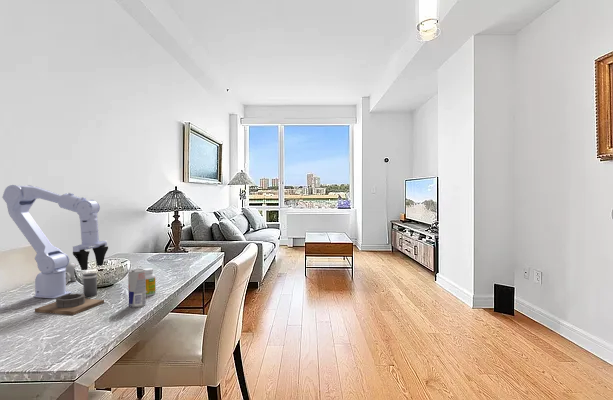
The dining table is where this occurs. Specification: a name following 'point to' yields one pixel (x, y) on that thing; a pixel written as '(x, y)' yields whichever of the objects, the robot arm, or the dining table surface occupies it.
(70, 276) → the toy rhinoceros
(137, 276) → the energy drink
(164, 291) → the dining table surface
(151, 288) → the supplement bottle
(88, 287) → the lens
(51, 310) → the mount
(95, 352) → the dining table surface
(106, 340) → the dining table surface
